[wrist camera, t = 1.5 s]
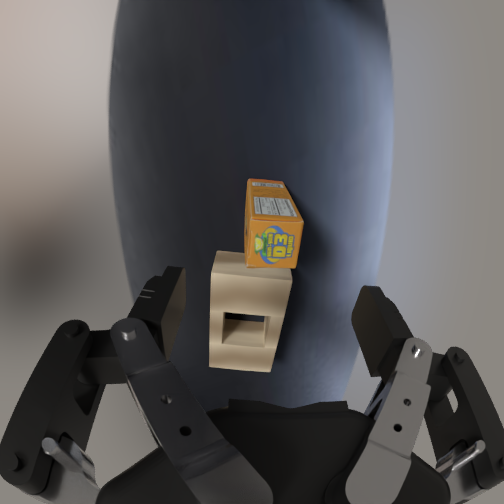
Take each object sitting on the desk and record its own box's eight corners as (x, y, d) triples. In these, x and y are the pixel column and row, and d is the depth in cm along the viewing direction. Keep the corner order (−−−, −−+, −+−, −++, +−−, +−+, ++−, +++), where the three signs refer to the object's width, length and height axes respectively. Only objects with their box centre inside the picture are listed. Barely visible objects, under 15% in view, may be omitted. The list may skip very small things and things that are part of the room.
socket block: (217, 250, 27) (211, 272, 24) (288, 257, 28) (292, 280, 24) (213, 342, 33) (209, 366, 30) (269, 347, 34) (270, 371, 30)
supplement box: (282, 214, 25) (296, 274, 17) (245, 211, 25) (238, 270, 17) (287, 179, 24) (305, 222, 15) (247, 176, 24) (242, 217, 15)
